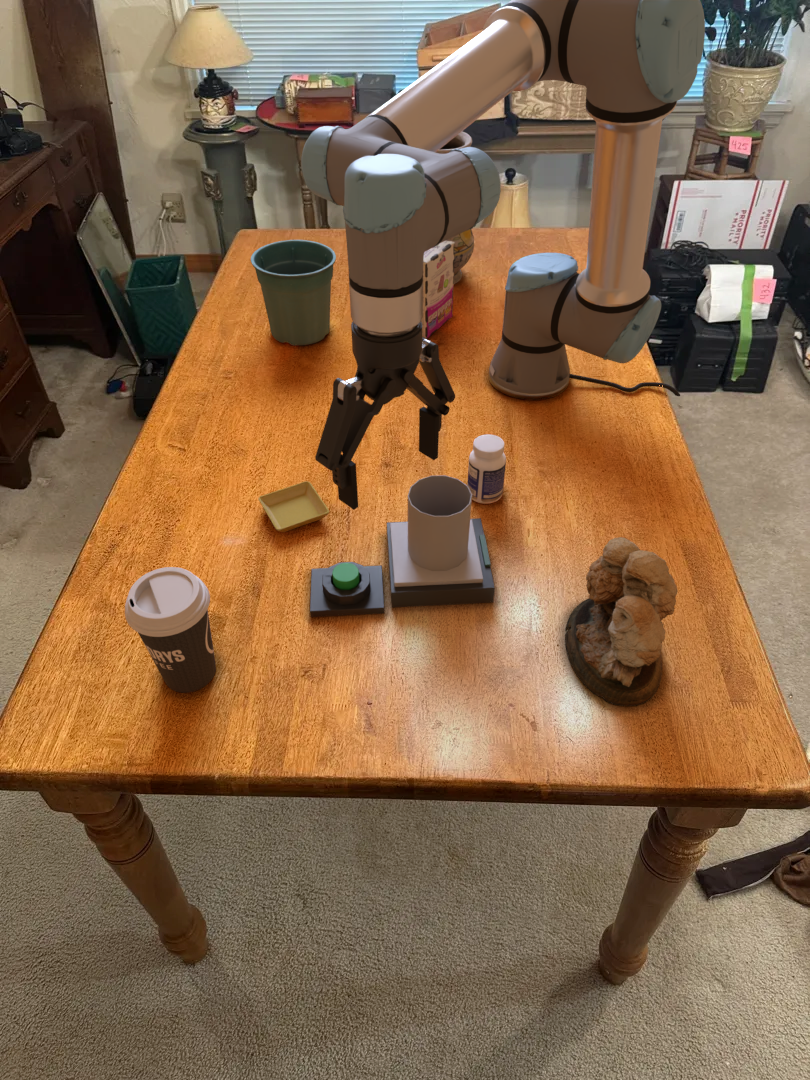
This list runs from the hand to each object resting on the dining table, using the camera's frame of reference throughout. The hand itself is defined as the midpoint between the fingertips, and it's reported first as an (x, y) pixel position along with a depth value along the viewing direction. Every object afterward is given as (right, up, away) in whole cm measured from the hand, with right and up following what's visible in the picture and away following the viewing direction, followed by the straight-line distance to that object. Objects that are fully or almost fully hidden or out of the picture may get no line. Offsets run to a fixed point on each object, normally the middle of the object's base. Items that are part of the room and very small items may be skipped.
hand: (389, 478), depth 94 cm
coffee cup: (-25, -25, +2) cm, 35 cm away
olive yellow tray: (-15, -4, +23) cm, 28 cm away
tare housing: (-6, -15, +11) cm, 20 cm away
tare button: (-6, -13, +10) cm, 17 cm away
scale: (+7, -12, +15) cm, 20 cm away
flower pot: (-20, +36, +64) cm, 76 cm away
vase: (+9, +54, +83) cm, 99 cm away
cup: (+6, -9, +12) cm, 17 cm away
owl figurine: (+28, -22, +4) cm, 36 cm away
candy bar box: (+7, +37, +66) cm, 76 cm away
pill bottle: (+15, 0, +27) cm, 31 cm away
